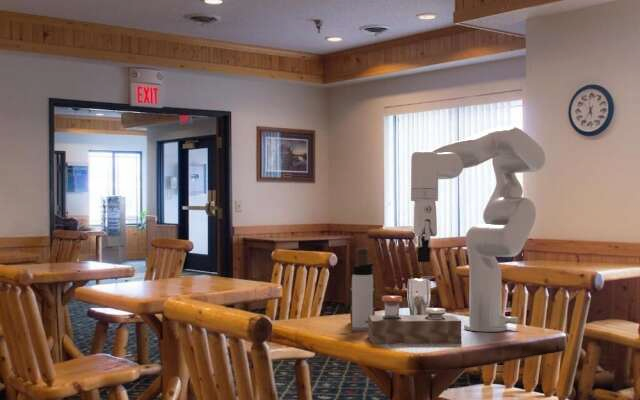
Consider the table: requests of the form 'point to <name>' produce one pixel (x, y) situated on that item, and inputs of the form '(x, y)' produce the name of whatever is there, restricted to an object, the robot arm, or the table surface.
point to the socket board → (414, 329)
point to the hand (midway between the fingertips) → (423, 261)
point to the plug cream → (435, 313)
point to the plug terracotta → (391, 306)
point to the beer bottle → (361, 260)
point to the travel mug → (362, 296)
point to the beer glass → (418, 296)
